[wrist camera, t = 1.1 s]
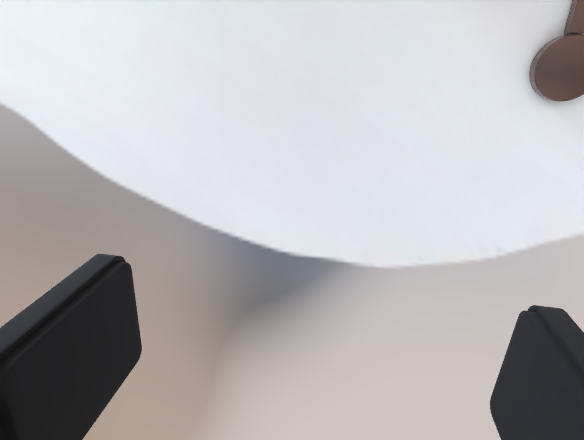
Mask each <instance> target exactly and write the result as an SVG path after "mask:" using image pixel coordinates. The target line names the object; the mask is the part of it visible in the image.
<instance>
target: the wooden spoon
mask: <svg viewBox="0 0 584 440" xmlns="http://www.w3.org/2000/svg"><path fill="white" fill-rule="evenodd" d="M564 33H565V34H577V35H567V36H562V37H559V38H556V39H554V40H552V41H551V42H549V43H548V44H546V45H545V46H544V47H543V48H542V49H541V50H540V51H539V52H538V54H537V55H536V57H535V58H534V60H533V62H532V65H531V69H530V82H531V85H532V87H533V89H534V91H535V92H536V93H537V94H538V95H540V96H541V97H543V98H545V99H549V100H553V101H568V100H572V99H575V98H577V97H579V96H581V95H583V94H584V35H579V34H583V33H584V0H573V1H572V5H571V9H570V13H569V16H568V20H567V24H566V28H565V31H564Z"/></svg>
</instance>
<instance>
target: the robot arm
mask: <svg viewBox="0 0 584 440" xmlns="http://www.w3.org/2000/svg"><path fill="white" fill-rule="evenodd" d="M141 350H142V345H141V338H140V331H139V323H138V315H137V307H136V301H135V293H134V285H133V277H132V270H131V266H130V264H129V263H126V262H125V260H124V258H123V257H121V256H115V255H106V254H97V255H95V256H94V257H93V258H91V259H90V260H89V261H87V262H86V263H85V264H84V265H82V266H81V267H80V268H78V269H77V270H76V271H74V272H73V273H72V274H70V275H69V276H68V277H66V278H65V279H64V280H62V281H61V282H60V283H59V284H57V285H56V286H55V287H53V288H52V289H51V290H50V291H48V292H47V293H45V294H44V295H43V296H42V297H40V298H39V299H37V300H36V301H35V302H34V303H32V304H31V305H30V306H28V307H27V308H26V309H25V310H23V311H22V312H20V313H19V314H18V315H16V316H15V317H14V318H13V319H11V320H10V321H9V322H7V323H6V324H5V325H4V326H2V327H1V328H0V440H82V439H83V438H84V436H85V435H86V434H87V432H88V431H89V429H90V428H91V427H92V425H93V424H94V422H95V421H96V420H97V418H98V417H99V415H100V414H101V413H102V411H103V410H104V408H105V407H106V406H107V404H108V403H109V401H110V400H111V399H112V397H113V396H114V394H115V393H116V392H117V390H118V389H119V387H120V386H121V384H122V383H123V382H124V380H125V379H126V377H127V376H128V375H129V373H130V372H131V370H132V369H133V368H134V366H135V365H136V363H137V362H138V360H139V358H140V355H141ZM490 409H491V414H492V417H493V420H494V422H495V425H496V427H497V430H498V432H499V435H500V438H501V440H584V333H583V331H582V330H581V329H580V328H579V327H578V326H577V324H576V323H575V322H574V321H573V320H572V319H571V317H570V316H569V315H568V314H567V313H566V312H565V311H564V310H563V309H560V308H552V307H544V306H536V305H533V306H531V307H530V308H529V309H528V311H522V312H521V313H520V314H519V317H518V319H517V322H516V326H515V328H514V331H513V334H512V337H511V340H510V343H509V346H508V349H507V352H506V355H505V358H504V361H503V364H502V367H501V369H500V373H499V375H498V378H497V381H496V384H495V387H494V390H493V393H492V396H491V400H490Z"/></svg>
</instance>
